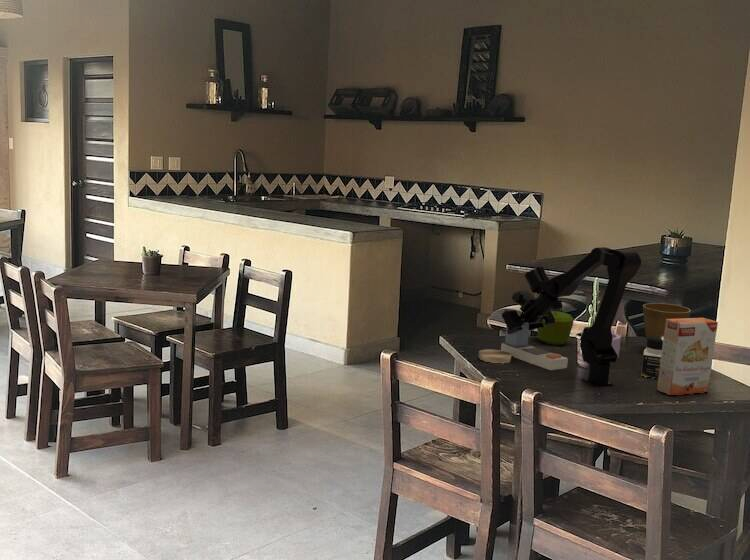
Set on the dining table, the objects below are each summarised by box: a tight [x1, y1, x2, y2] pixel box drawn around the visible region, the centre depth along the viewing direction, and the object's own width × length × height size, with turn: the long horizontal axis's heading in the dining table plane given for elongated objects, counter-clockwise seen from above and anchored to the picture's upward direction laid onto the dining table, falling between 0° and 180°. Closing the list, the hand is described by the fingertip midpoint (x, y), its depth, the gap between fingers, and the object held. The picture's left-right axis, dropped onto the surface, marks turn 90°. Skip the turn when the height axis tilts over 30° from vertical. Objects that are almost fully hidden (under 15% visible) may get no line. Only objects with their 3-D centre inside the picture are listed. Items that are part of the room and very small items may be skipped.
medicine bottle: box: [640, 336, 664, 379], centre depth 240 cm, size 7×7×12 cm
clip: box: [580, 328, 622, 359], centre depth 264 cm, size 20×12×7 cm, turn 163°
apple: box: [536, 310, 574, 346], centre depth 275 cm, size 12×12×11 cm
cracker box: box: [656, 317, 719, 396], centre depth 223 cm, size 14×6×21 cm, turn 114°
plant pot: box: [642, 302, 692, 339], centre depth 267 cm, size 15×15×16 cm
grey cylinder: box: [504, 323, 530, 347], centre depth 256 cm, size 5×5×8 cm
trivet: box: [478, 348, 512, 365], centre depth 249 cm, size 10×10×2 cm
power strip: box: [500, 341, 569, 371], centre depth 251 cm, size 22×7×4 cm, turn 33°
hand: (514, 332), depth 258 cm, fingers closed on grey cylinder, 5 cm apart
